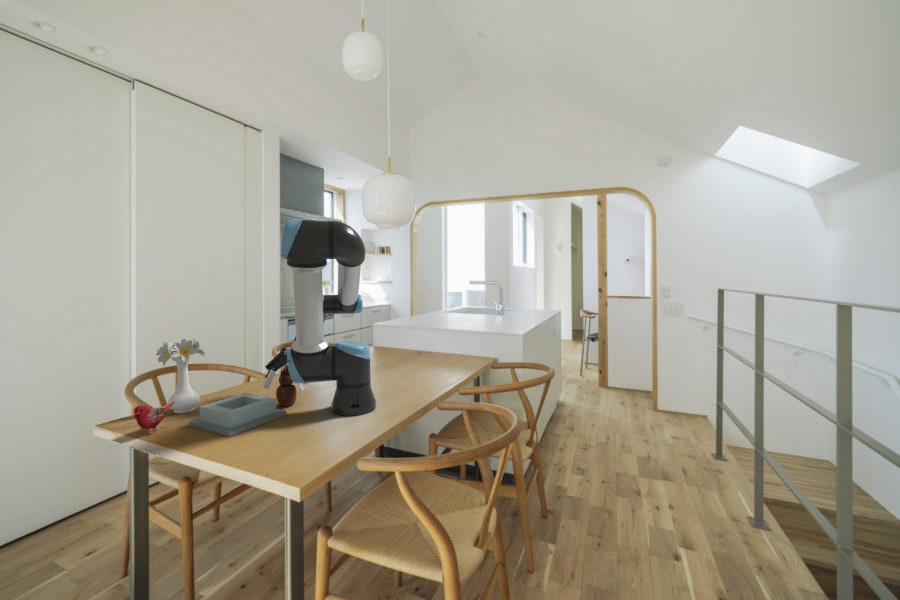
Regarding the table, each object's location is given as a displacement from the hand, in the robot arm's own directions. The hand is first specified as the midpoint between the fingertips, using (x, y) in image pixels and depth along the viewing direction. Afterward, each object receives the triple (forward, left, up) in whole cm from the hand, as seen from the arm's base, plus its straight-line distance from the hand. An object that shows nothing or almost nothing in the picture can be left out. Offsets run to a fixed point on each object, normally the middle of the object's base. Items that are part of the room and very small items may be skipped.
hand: (282, 388), depth 139 cm
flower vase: (+29, +18, -7) cm, 34 cm away
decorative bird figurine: (+17, +32, -7) cm, 37 cm away
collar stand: (+3, +15, -7) cm, 17 cm away
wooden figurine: (+1, -2, -7) cm, 7 cm away
